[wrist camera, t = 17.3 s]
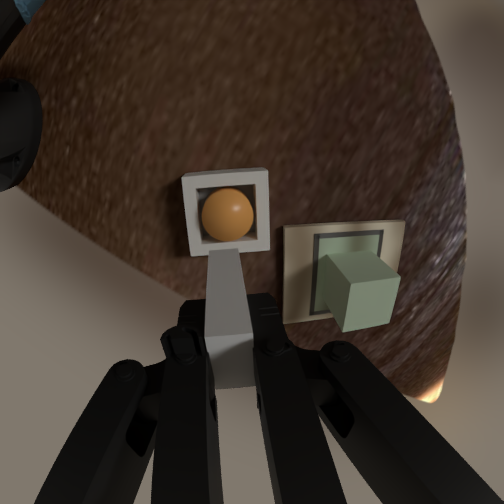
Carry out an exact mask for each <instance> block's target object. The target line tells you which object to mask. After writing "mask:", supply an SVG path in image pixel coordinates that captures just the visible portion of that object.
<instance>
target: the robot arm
mask: <svg viewBox="0 0 504 504" xmlns="http://www.w3.org/2000/svg"><path fill="white" fill-rule="evenodd" d="M45 1H46V0H0V60H1V58H2V57H3V55H4V53H5V52H6V51H7V49H8V48H9V46H10V45H11V43H12V42H13V41H14V39H15V38H16V37H17V35H18V34H19V33H20V31H21V30H22V29H23V27H24V26H25V25H26V24H27V25H28V24H29V23H30V22H31V19H32V16H33V15H34V14H35V13H36V11H37V10H38V9H39V8H40V7H41V5H42V4H43V3H44V2H45ZM41 132H42V107H41V102H40V98H39V95H38V93H37V91H36V89H35V88H34V86H33V85H32V84H31V83H29V82H28V81H26V80H23V79H17V78H5V79H2V80H0V192H2V191H5V190H7V189H10V188H12V187H14V186H16V185H17V184H18V183H19V182H20V181H21V180H22V179H23V178H24V177H25V176H26V174H27V173H28V171H29V170H30V168H31V166H32V164H33V162H34V159H35V157H36V154H37V151H38V147H39V143H40V138H41ZM160 340H161V343H162V346H163V350H164V352H165V355H166V359H165V360H163V361H161V362H159V363H156V364H153V365H149V366H146V367H143V365H142V364H141V363H140V362H138V361H136V360H130V359H129V360H128V359H126V360H122V361H119V362H117V363H116V364H114V365H113V366H112V367H111V368H110V369H109V371H108V372H107V374H106V376H105V377H104V379H103V380H102V382H101V383H100V385H99V387H98V388H97V390H96V391H95V393H94V394H93V396H92V398H91V399H90V401H89V403H88V404H87V406H86V408H85V409H84V411H83V413H82V414H81V416H80V418H79V419H78V421H77V423H76V425H75V427H74V428H73V430H72V432H71V433H70V435H69V437H68V439H67V440H66V442H65V444H64V446H63V448H62V449H61V451H60V453H59V455H58V457H57V459H56V461H55V462H54V464H53V466H52V468H51V470H50V472H49V474H48V476H47V478H46V480H45V482H44V484H43V486H42V488H41V490H40V492H39V494H38V496H37V498H36V500H35V503H34V504H133V503H134V500H135V497H136V495H137V492H138V489H139V487H140V484H141V481H142V479H143V476H144V473H145V471H146V468H147V466H148V463H149V460H150V458H151V455H152V453H153V450H154V460H153V474H152V490H151V491H152V492H151V504H224V502H223V491H222V479H221V466H220V451H219V437H218V436H219V435H218V416H217V400H216V396H215V389H228V388H240V387H250V386H256V391H257V408H259V414H260V420H261V426H262V432H263V438H264V444H265V450H266V455H267V461H268V467H269V472H270V478H271V483H272V489H273V494H274V500H275V504H347V502H346V499H345V496H344V493H343V489H342V487H341V483H340V480H339V477H338V474H337V471H336V468H335V465H334V462H333V458H332V455H331V452H330V449H329V446H328V443H327V440H326V437H325V434H324V431H323V428H322V425H321V422H320V419H319V416H320V418H321V419H322V421H323V422H324V424H325V425H326V426H327V428H328V429H329V431H330V432H331V433H332V435H333V437H334V438H335V439H336V441H337V442H338V443H339V445H340V446H341V448H342V449H343V451H344V452H345V453H346V455H347V456H348V458H349V459H350V460H351V462H352V463H353V464H354V466H355V467H356V468H357V470H358V471H359V473H360V474H361V475H362V477H363V478H364V479H365V481H366V482H367V483H368V485H369V486H370V488H371V489H372V490H373V491H374V493H375V494H376V496H377V497H378V498H379V499H380V501H381V502H382V503H383V504H504V501H502V500H501V498H499V496H498V495H497V494H496V493H495V492H494V491H493V490H492V489H491V488H490V487H489V486H488V484H487V483H486V482H485V481H484V480H483V479H482V478H481V477H480V476H479V475H478V474H477V473H476V472H475V471H474V469H473V468H472V467H471V466H470V465H469V464H468V463H467V462H466V461H465V460H464V459H463V458H462V457H461V456H460V455H459V453H458V452H457V451H455V449H454V448H453V447H452V446H451V445H450V444H449V443H448V442H447V441H446V440H445V439H444V438H443V437H442V436H441V434H439V432H438V431H437V430H436V429H435V428H434V427H433V426H432V425H431V424H430V423H429V422H428V421H427V420H426V419H425V418H424V417H423V416H422V415H421V414H420V413H419V411H418V410H417V409H416V408H415V407H414V406H413V405H412V404H411V403H410V402H409V401H408V400H407V399H406V398H405V397H404V396H403V395H402V394H401V393H400V392H399V391H398V390H397V389H396V388H395V386H394V385H393V384H392V383H391V382H390V381H389V380H388V379H387V378H386V377H385V376H384V375H383V374H382V373H381V372H380V371H379V370H378V369H377V368H376V367H375V366H374V365H373V364H372V363H371V362H370V361H369V360H368V359H367V358H366V357H365V356H364V355H363V354H362V352H361V351H360V350H359V349H358V348H357V347H355V346H354V345H353V344H351V343H349V342H346V341H337V340H336V341H332V342H328V343H327V344H325V345H324V346H323V347H322V349H321V350H320V351H317V350H307V349H302V348H299V347H297V346H295V345H294V344H293V343H292V341H290V340H289V339H288V337H287V334H286V331H285V328H284V325H283V322H282V319H281V316H280V314H279V310H278V308H277V304H276V301H275V298H273V297H272V296H271V295H270V294H269V293H259V294H249V295H246V291H245V285H244V279H243V274H242V268H241V262H240V256H239V250H238V248H234V249H222V250H210V251H209V258H208V274H207V291H206V299H199V300H186V301H185V302H184V304H183V305H182V306H181V307H180V311H179V317H178V324H177V326H175V327H172V328H170V329H168V330H167V331H166V332H164V333H163V334H162V337H161V339H160ZM318 415H319V416H318ZM154 447H155V448H154Z"/></svg>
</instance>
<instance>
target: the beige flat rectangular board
mask: <svg viewBox="0 0 504 504" xmlns="http://www.w3.org/2000/svg"><path fill="white" fill-rule="evenodd" d="M404 228H405V221H403V220H380V221H357V222H337V223H318V224H301V225H285V226H283V310H282V321H283V324H288V323H296V322H303V321H311V320H318V319H324V318H331V317H334V316H333V315H332V313H331V311H330V309H329V308H328V306H327V304H326V303H325V301H324V299H323V290H324V280H325V269H326V257H327V254H334V253H346V252H358V251H369V250H371V251H372V252H373V253H375V254H376V255H377V256H378V257H379V258H380V259H381V260H383V261H384V262H385V263H386V264H387V265H388V266H389V267H390V268H392V269H393V270H394V271H395V272H396V273H397V270H398V264H399V259H400V254H401V248H402V242H403V235H404Z"/></svg>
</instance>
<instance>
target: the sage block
mask: <svg viewBox="0 0 504 504" xmlns="http://www.w3.org/2000/svg"><path fill="white" fill-rule="evenodd" d="M400 278H401V277H400V276H399V275H398V274H397V273H396V272H395V271H394V270H393V269H392V268H390V267H389V266H388V265H387V264H386V263H385V262H384V261H383V260H381V259H380V258H379V257H378V256H377V255H376V254H375V253H373V252H372V251H371V250H369V251H358V252H346V253H334V254H327V257H326V269H325V280H324V290H323V299H324V301H325V303H326V304H327V306H328V308H329V309H330V311H331V313H332V315H333V316H334V318H335V320H336V322H337V323H338V325H339V327H340V329H341V331H342V332H347V331H352V330H357V329H363V328H368V327H373V326H377V325H382V324H386V323H389V321H390V317H391V314H392V310H393V307H394V303H395V299H396V295H397V291H398V287H399V282H400Z"/></svg>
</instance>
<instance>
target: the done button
mask: <svg viewBox="0 0 504 504" xmlns="http://www.w3.org/2000/svg"><path fill="white" fill-rule="evenodd" d="M252 222H253V210H252V207H251V205H250V202H249V200H248V198H247V196H246V195H245V194H244V193H243V192H242V191H241V190H240V189H238V188H235V187H232V186H223V187H219V188H217V189H215V190H213V191H212V192H211V193H210V194H209V195H208V197H207V198H206V200H205V203H204V207H203V211H202V223H203V226H204V228H205V230H206V231H207V232H208V233H209V234H210V235H211V236H212V237H214V238H216V239H218V240H221V241H233V240H237V239H239V238H241V237H242V236H244V235H245V234H246V233H247V232H248V231H249V229H250V228H251V225H252Z"/></svg>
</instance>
